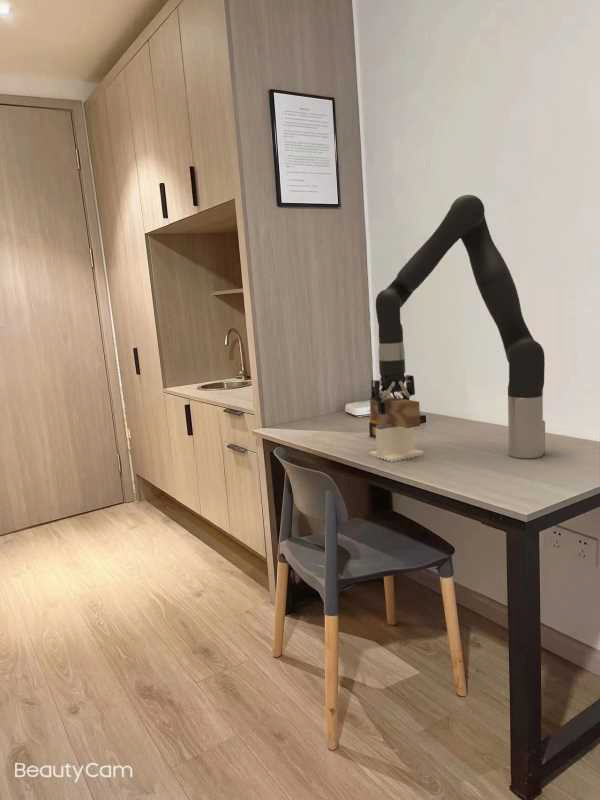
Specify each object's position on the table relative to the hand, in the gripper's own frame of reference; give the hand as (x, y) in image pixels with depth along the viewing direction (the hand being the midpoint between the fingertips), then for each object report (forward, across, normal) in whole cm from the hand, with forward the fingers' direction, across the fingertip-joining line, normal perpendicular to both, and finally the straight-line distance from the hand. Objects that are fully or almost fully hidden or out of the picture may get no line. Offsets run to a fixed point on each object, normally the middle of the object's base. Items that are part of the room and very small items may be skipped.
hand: (394, 412), depth 183 cm
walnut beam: (+3, 0, 0) cm, 3 cm away
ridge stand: (+13, 0, 0) cm, 13 cm away
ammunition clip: (+13, +9, +20) cm, 26 cm away
